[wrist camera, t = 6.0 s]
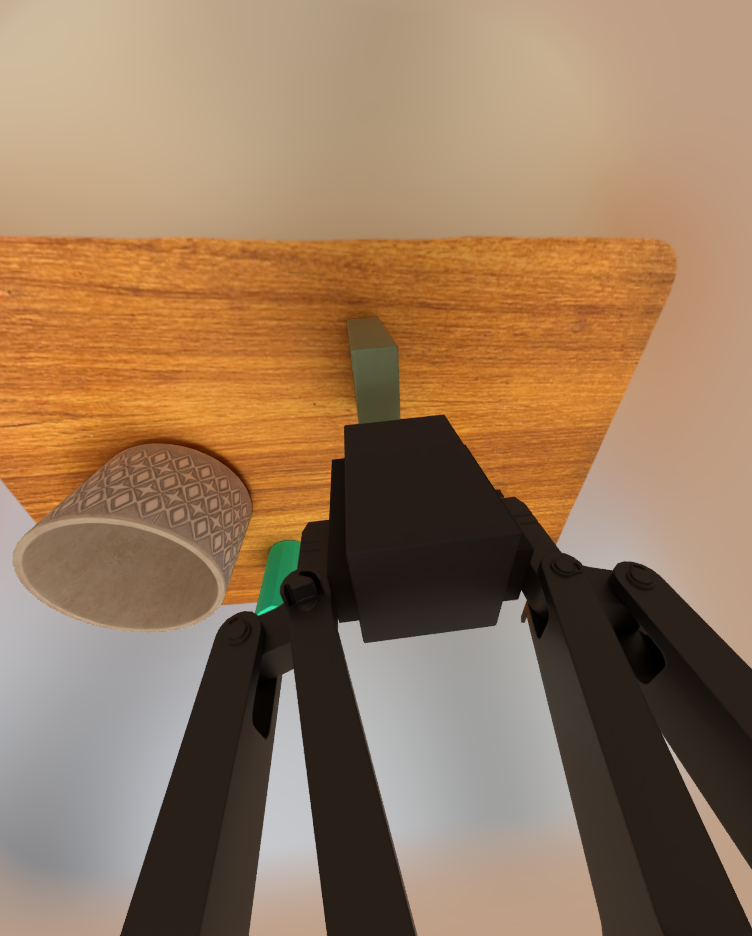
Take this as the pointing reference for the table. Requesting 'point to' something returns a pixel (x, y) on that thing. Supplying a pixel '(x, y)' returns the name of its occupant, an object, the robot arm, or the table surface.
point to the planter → (140, 541)
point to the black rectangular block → (422, 531)
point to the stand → (374, 370)
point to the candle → (277, 574)
